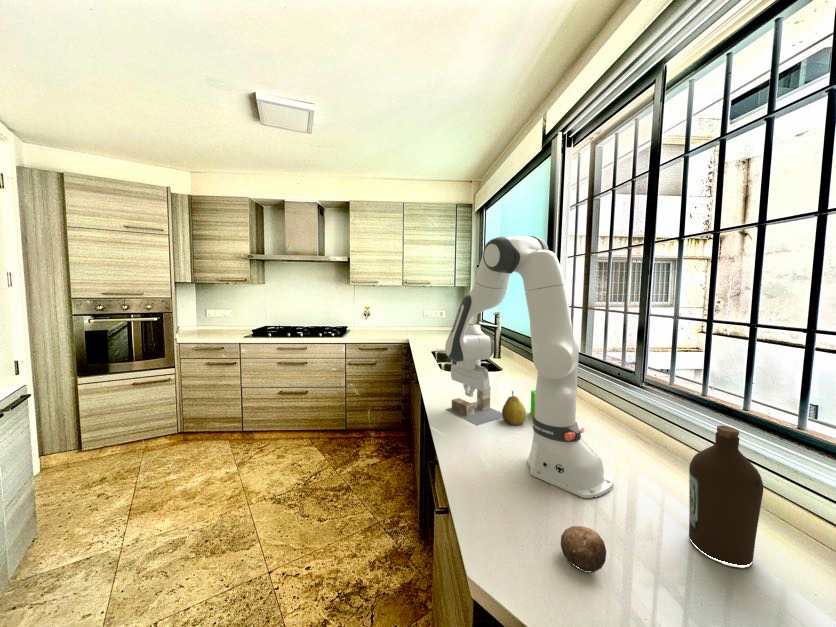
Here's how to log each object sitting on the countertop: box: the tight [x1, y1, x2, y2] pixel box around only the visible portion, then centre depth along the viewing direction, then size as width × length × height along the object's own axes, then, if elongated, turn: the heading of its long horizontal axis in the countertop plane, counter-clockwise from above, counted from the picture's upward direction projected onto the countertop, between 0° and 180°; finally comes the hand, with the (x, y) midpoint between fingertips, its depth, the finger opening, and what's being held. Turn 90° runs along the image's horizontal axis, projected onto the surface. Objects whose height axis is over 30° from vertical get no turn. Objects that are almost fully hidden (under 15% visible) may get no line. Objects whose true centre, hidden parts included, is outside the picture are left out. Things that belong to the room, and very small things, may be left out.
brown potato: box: [560, 525, 607, 573], centre depth 63 cm, size 8×8×6 cm
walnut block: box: [451, 397, 474, 416], centre depth 138 cm, size 4×4×10 cm
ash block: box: [476, 387, 491, 411], centre depth 142 cm, size 4×4×10 cm
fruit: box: [501, 390, 527, 426], centre depth 127 cm, size 9×9×12 cm
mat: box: [445, 401, 503, 426], centre depth 137 cm, size 20×18×1 cm
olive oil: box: [688, 425, 764, 565], centre depth 64 cm, size 11×11×25 cm
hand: (469, 395), depth 134 cm, fingers closed
